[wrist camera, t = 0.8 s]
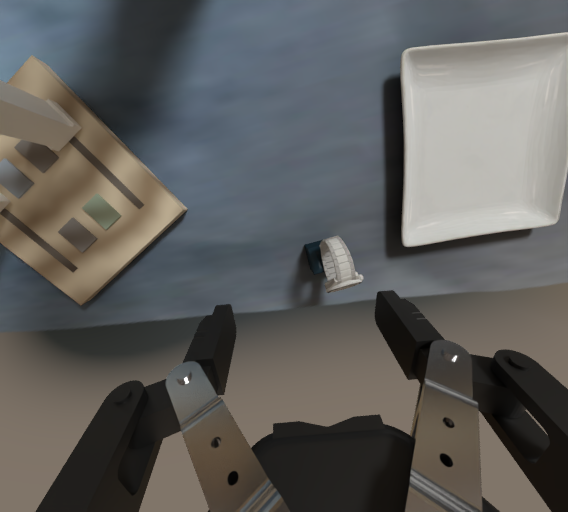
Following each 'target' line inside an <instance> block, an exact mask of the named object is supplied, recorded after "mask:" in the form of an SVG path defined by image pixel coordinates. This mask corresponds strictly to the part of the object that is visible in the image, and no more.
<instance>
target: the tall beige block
mask: <svg viewBox="0 0 568 512" xmlns="http://www.w3.org/2000/svg"><path fill="white" fill-rule="evenodd" d="M81 128H82V127H81V126H80V125H79V124H78V123H77V122H76V121H75V120H74V119H73V118H72V117H71V116H70V115H69V114H68V113H67V112H66V111H65V110H64V109H63V108H62V107H61V106H60V105H59V104H58V103H56V102H54V101H52V100H50V99H47V100H46V101H45V100H43V99H40V98H38V97H36V96H34V95H32V94H29V93H27V92H25V91H23V90H20V89H18V88H16V87H14V86H12V85H9V84H7V83H5V82H3V81H1V80H0V134H1V135H5V136H9V137H13V138H17V139H21V140H25V141H29V142H33V143H37V144H41V145H45V146H47V147H48V148H49V149H51V150H55V151H60V150H61V149H62V148H63V147H64V146H65V145H66V144H67V143H68V142H69V141H70V139H71V138H72V137H73V136H74V135H75V134H76V133H77V132H78V131H79V130H80V129H81Z"/></svg>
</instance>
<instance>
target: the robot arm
mask: <svg viewBox="0 0 568 512" xmlns="http://www.w3.org/2000/svg"><path fill="white" fill-rule="evenodd" d="M375 321H376V324H377V326H378V328H379V330H380V332H381V333H382V335H383V337H384V339H385V340H386V342H387V344H388V346H389V347H390V349H391V351H392V353H393V354H394V356H395V358H396V360H397V361H398V363H399V365H400V367H401V368H402V370H403V372H404V374H405V375H406V377H407V379H408V380H411V379H418V380H419V382H420V387H419V392H418V397H417V403H416V408H415V414H414V419H413V424H412V429H411V433H410V435H408V434H407V433H405V432H403V431H401V430H399V429H397V428H395V427H392V426H389V425H385V424H383V422H382V419H381V417H380V415H369V416H357V417H352V418H350V419H347V420H345V421H342V422H339V423H337V424H335V425H332V426H329V427H325V426H320V425H315V424H309V423H305V422H300V421H298V422H287V423H275V424H273V433H272V434H269V435H267V436H266V437H264V438H262V439H261V440H260V441H258V442H257V443H256V444H255V445H254V446H253V447H252V448H250V446H249V444H248V442H247V441H246V439H245V437H244V436H243V434H242V432H241V431H240V429H239V427H238V425H237V424H236V422H235V420H234V418H233V417H232V415H231V413H230V412H229V410H228V408H227V407H226V405H225V403H224V402H223V400H222V399H221V398H219V397H218V396H217V395H224V392H225V387H226V383H227V377H228V373H229V368H230V364H231V359H232V354H233V349H234V344H235V339H236V324H235V320H234V315H233V311H232V307H231V305H230V304H226V305H216V307H215V309H214V312H213V314H212V315H209V316H206V317H205V318H204V319H203V320H202V321H201V322H200V324H199V326H198V329H197V332H196V333H195V335H194V339H193V340H192V342H191V345H190V347H189V349H188V352H187V354H186V356H185V359H184V361H183V363H182V364H180V365H179V366H177V367H175V368H174V369H173V370H172V371H171V373H169V375H168V377H167V379H165V380H162V381H160V382H157V383H154V384H152V385H149V386H146V387H144V386H143V384H142V383H141V382H140V381H129V382H126V383H124V384H122V385H120V386H118V387H117V388H116V389H114V390H113V391H112V392H111V393H110V394H109V395H108V396H107V397H106V399H105V400H104V402H103V403H102V405H101V407H100V408H99V410H98V412H97V413H96V415H95V416H94V418H93V419H92V421H91V423H90V424H89V426H88V428H87V429H86V431H85V432H84V434H83V436H82V437H81V439H80V441H79V442H78V444H77V446H76V447H75V449H74V450H73V452H72V454H71V455H70V457H69V458H68V460H67V462H66V463H65V465H64V466H63V468H62V470H61V471H60V473H59V475H58V476H57V478H56V479H55V481H54V483H53V484H52V486H51V487H50V489H49V491H48V492H47V494H46V495H45V497H44V499H43V500H42V502H41V504H40V505H39V507H38V508H37V510H36V512H139V509H140V506H141V503H142V500H143V497H144V494H145V491H146V488H147V485H148V482H149V479H150V476H151V473H152V470H153V467H154V464H155V461H156V458H157V455H158V452H159V449H160V445H161V443H162V440H163V438H165V437H168V436H170V435H172V434H174V433H177V432H179V431H181V432H182V435H183V438H184V440H185V443H186V446H187V448H188V451H189V454H190V457H191V460H192V463H193V465H194V468H195V471H196V473H197V476H198V479H199V482H200V484H201V487H202V490H203V493H204V495H205V498H206V501H207V504H208V507H209V511H208V512H499V510H497V509H496V508H495V507H494V506H493V505H492V504H490V503H489V502H488V501H487V500H485V498H483V497H482V488H481V464H480V463H481V462H480V438H479V411H480V412H481V413H482V415H483V416H484V417H485V419H486V420H487V422H488V423H489V425H490V426H491V427H492V429H493V430H494V432H495V433H496V434H497V436H498V437H499V439H500V440H501V441H502V443H503V444H504V446H505V447H506V448H507V450H508V451H509V452H510V454H511V455H512V457H513V458H514V460H515V461H516V462H517V464H518V465H519V467H520V468H521V469H522V471H523V472H524V474H525V475H526V476H527V478H528V479H529V481H530V482H531V483H532V485H533V486H534V488H535V489H536V490H537V492H538V493H539V495H540V496H541V497H542V499H543V500H544V502H545V503H546V504H547V506H548V507H549V509H550V510H551V511H552V512H568V389H567V388H566V387H564V386H563V385H562V384H561V383H560V382H559V381H558V380H556V379H555V378H554V377H553V376H552V375H551V374H549V372H547V371H546V370H545V369H544V368H543V367H542V366H540V365H539V364H538V363H537V362H536V361H534V360H533V359H531V358H530V357H528V356H526V355H524V354H521V353H519V352H516V351H512V350H499V351H497V352H496V353H495V355H494V357H493V358H489V357H483V356H477V355H472V354H469V353H468V352H467V350H465V349H464V348H463V347H461V346H460V345H458V344H456V343H454V342H451V341H447V340H445V339H444V338H443V337H442V336H441V335H440V334H439V333H438V331H437V330H436V329H435V328H434V327H433V326H432V325H431V324H430V323H429V321H428V320H427V319H425V317H424V316H423V314H422V313H420V311H419V310H418V309H417V308H416V306H415V305H414V304H412V303H411V302H409V301H407V300H406V299H400V298H399V296H398V295H397V294H396V293H395V292H394V291H393V290H391V291H379V292H378V293H377V298H376V307H375ZM526 409H527V410H528V411H529V412H530V413H531V414H532V416H534V418H535V419H536V420H537V421H538V422H539V423H540V425H541V426H542V427H543V428H544V429H545V431H546V433H547V434H548V436H547V434H546V433H545V432H544V431H543V430H542V429H541V428H540V427H539V426H538V424H537V423H536V422H535V421H534V420H533V419H532V418H531V416H530V415H529V414H528V413H527V412H526V411H525V410H526Z"/></svg>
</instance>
